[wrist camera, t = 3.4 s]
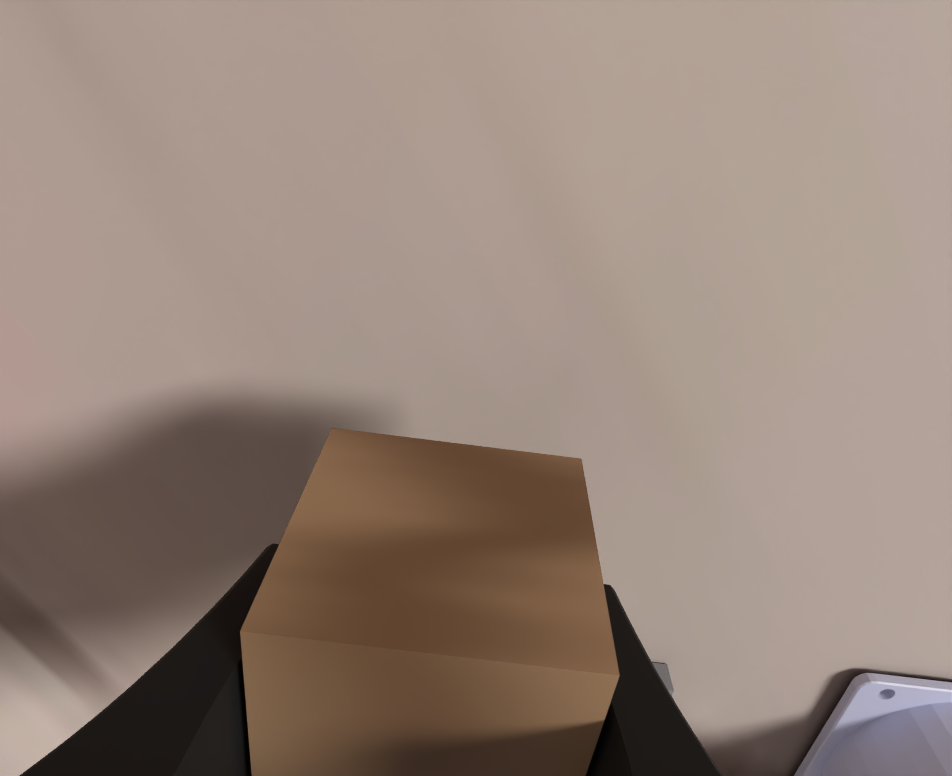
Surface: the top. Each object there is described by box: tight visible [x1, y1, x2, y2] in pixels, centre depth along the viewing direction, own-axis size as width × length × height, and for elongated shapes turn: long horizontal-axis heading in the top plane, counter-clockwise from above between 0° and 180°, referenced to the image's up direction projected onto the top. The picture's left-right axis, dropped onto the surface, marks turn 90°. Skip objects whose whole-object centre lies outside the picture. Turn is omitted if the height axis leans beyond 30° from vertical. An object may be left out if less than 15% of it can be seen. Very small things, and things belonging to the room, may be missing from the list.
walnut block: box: [240, 428, 620, 776], centre depth 11 cm, size 4×4×4 cm
